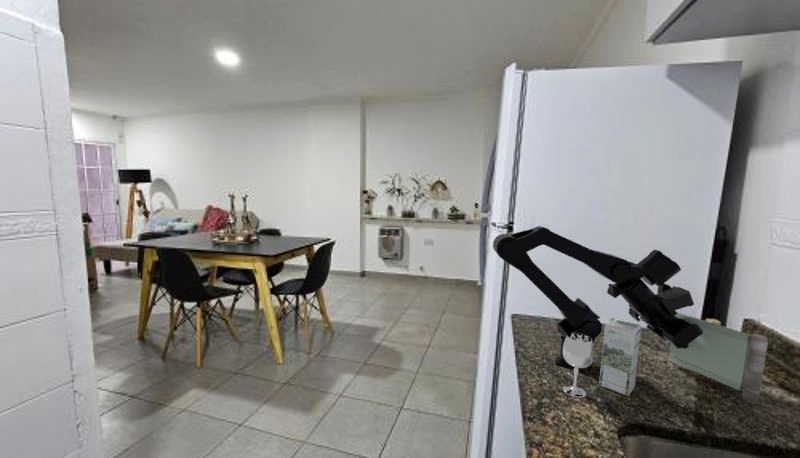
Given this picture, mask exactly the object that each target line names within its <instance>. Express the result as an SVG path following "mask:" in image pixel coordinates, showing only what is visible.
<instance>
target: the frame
mask: <svg viewBox="0 0 800 458" xmlns="http://www.w3.org/2000/svg"><path fill="white" fill-rule="evenodd" d="M704 321H707V322H710V323H714V324H717V325H720V326H722V325H721V323H722V322H721V321H720V320H718V319H715V318H705V320H704ZM751 335H752V336H751V342H750V349H749V355H748V362H747V368H746V375H745V381H744V388H743V390H740V391H741V392H742V393H741V394H742V396H741V399H742V400H743V401H744V402H746V403H748V404H751V405H758V404H759V400H760V398H761V388H762V381H763V375H764V369H765V363H766V355H767V352H768V351H767V350H768V343H769V337H767V336H766V335H763V334H759V333H758V334H757V333H752V334H751Z"/></svg>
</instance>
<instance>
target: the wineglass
mask: <svg viewBox="0 0 800 458" xmlns="http://www.w3.org/2000/svg"><path fill="white" fill-rule="evenodd" d="M594 354H595V352H594V342H593V343H592V339H591V338H590V337H588V336H586V335H583V334H579V333H569V334H567V336H566V339H565V342H564V345H563V357H564V359H565V361H566V362H567V363H568V364H570V365H571V366H573V367H575V368H574V369H572V370H573V375H574V379H573V385H570V384H566V385H564V386H563V387H562V390H563V392H564V393H565V394H567V395H569V396H570V397H574V398H580V399H581V398H585V397H586V396H587V393H586V391H585V390H584V389H583V388H581V387H579V386H577V381H578V380H577V379H578V376H579V373H580V371H579V369H578V368H587V367H589V366H591V364H592V363H593V362H594V361H593V360H594V356H595V355H594Z"/></svg>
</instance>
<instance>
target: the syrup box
mask: <svg viewBox="0 0 800 458" xmlns="http://www.w3.org/2000/svg"><path fill="white" fill-rule="evenodd" d="M603 333H604V334H603V342H602V352H601V362H600V373H599V382H598V386H599V387H602V388H603V389H607V390H610V391H612V392H615V393H617V394H620V395H623V396H626V397H629V396H630V395H631V393H632V392H633V390H634V389H635V387H636V386H635V385H636V377H637V364H638V358H639V350H640V343H641V336H642V325H641V324H639V323H635V322H630V321H626V320H623V319H619V318H615V317H611V318H610V319H608V320H607V322H605V324H604V332H603Z"/></svg>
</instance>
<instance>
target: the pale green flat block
mask: <svg viewBox="0 0 800 458" xmlns="http://www.w3.org/2000/svg"><path fill="white" fill-rule="evenodd" d="M675 317H677V318H679V319H680V318H685V319H688V320H690V321H692V322H694V323H696V324H697V325H698V326H699V327H700V328H701V329H702V330H703V334H701V335H700V336H699V337H697V338H696V339H694V340H693V341H692V342H690V343H689V344H688V347H687V348H686V349H684V348H679V349H678V348H676V347H675V346H674V345H672V344H671V343H670V348H669V355H668V358H667V359H668V361H671V362H672V363H674V364H677V365H679V366H680V367H681V366H682V367H684V368H686V369H689V370H690V371H693V372H696V373H697V374H699V375H702V376H705V377H707V378H709V379H711V380H714V381H716V382H718V383H721V384H723V385H726V386H728V387H731V388H732V389H735V390H737V391H741V390H743V388H744V381H745V375H746V368H747V362H748V355H749V349H750V342H751V336H752V334H749V333H746V332H743V331H740V330H737V329H733V328H729V327H726V326H723V325H717V324H714V323H710V322H707V321H705V320H704V319H700V318H697V317H695V316H691V315H687V314H684V313H681V312H677V314H676V315H675Z"/></svg>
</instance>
